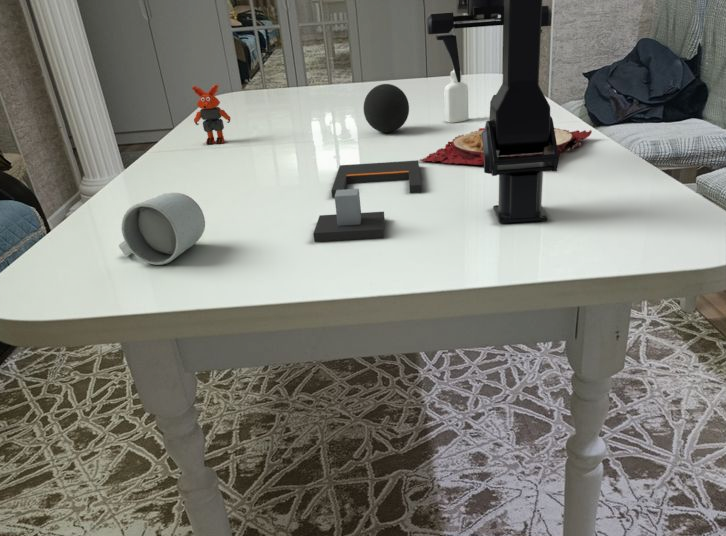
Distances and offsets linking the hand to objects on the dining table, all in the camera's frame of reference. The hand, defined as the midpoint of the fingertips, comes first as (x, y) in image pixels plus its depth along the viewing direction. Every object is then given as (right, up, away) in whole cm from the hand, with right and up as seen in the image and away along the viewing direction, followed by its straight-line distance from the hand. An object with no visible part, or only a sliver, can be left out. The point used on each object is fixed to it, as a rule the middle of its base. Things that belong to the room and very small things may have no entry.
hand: (487, 80), depth 103 cm
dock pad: (-18, -15, +4) cm, 24 cm away
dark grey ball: (-17, +5, +39) cm, 43 cm away
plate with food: (+6, -6, +17) cm, 19 cm away
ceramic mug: (-45, -31, -20) cm, 58 cm away
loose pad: (-21, -27, -17) cm, 38 cm away
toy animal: (-56, +3, +41) cm, 69 cm away
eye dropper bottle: (-1, +10, +46) cm, 47 cm away
